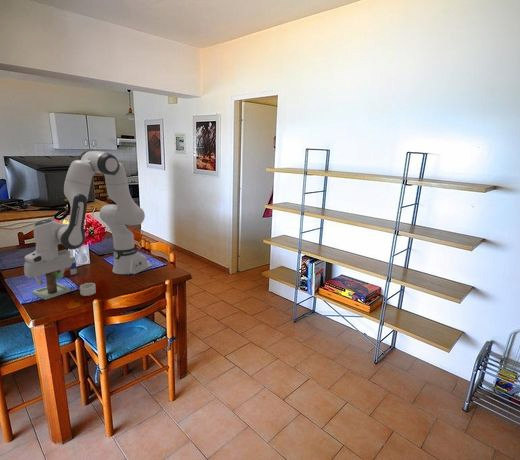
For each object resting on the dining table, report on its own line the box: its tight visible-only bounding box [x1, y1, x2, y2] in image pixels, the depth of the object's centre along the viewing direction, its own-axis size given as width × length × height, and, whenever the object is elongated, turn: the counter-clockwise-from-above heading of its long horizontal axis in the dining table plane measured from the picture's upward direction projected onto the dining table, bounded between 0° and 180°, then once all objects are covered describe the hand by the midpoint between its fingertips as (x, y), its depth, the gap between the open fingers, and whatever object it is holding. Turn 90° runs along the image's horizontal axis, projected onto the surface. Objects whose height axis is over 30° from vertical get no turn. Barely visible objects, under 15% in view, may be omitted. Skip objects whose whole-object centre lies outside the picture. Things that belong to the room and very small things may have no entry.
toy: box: [54, 253, 78, 279], centre depth 186 cm, size 10×10×10 cm
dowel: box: [45, 272, 57, 294], centre depth 161 cm, size 4×4×10 cm
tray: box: [32, 282, 72, 301], centre depth 162 cm, size 12×12×2 cm
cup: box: [79, 282, 97, 297], centre depth 163 cm, size 7×7×4 cm
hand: (50, 280), depth 161 cm, fingers open, 8 cm apart
